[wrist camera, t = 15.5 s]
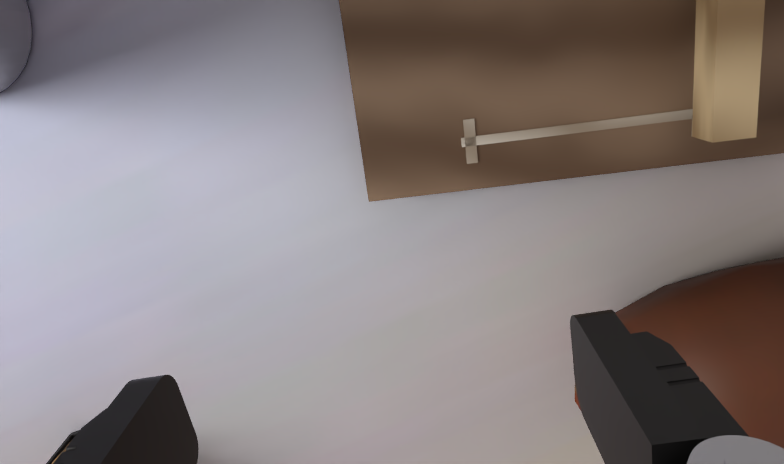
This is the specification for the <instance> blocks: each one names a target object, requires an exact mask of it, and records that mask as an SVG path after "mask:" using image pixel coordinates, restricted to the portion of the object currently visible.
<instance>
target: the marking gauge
mask: <svg viewBox="0 0 784 464" xmlns="http://www.w3.org/2000/svg"><path fill="white" fill-rule="evenodd" d="M764 11H765V0H696V23H695V55H694V88H693V115H692V137H695V138H698V139H701V140H705V141H708V142H712V143H713V142H722V141H730V140H738V139H747V138H755V137H756V133H757V118H758V103H759V87H760V72H761V57H762V41H763V26H764Z"/></svg>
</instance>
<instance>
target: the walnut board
mask: <svg viewBox="0 0 784 464" xmlns="http://www.w3.org/2000/svg"><path fill="white" fill-rule="evenodd" d="M339 5H340V11H341V18H342V25H343V31H344V38H345V45H346V51H347V58H348V65H349V72H350V78H351V85H352V92H353V98H354V105H355V112H356V118H357V125H358V132H359V138H360V145H361V152H362V159H363V165H364V172H365V179H366V185H367V192H368V199H369V202H370V201H378V200H387V199H395V198H404V197H412V196H421V195H429V194H438V193H446V192H455V191H463V190H472V189H480V188H489V187H497V186H506V185H515V184H523V183H532V182H540V181H549V180H557V179H566V178H574V177H583V176H591V175H600V174H608V173H617V172H625V171H634V170H642V169H651V168H660V167H668V166H677V165H685V164H694V163H702V162H711V161H719V160H728V159H736V158H745V157H753V156H762V155H770V154H779V153H784V0H765V11H764V26H763V41H762V57H761V72H760V87H759V103H758V118H757V133H756V137H755V138H747V139H738V140H730V141H722V142H713V143H712V142H708V141H705V140H701V139H698V138H695V137H692V115H693V88H694V55H695V23H696V0H339Z"/></svg>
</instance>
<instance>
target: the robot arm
mask: <svg viewBox="0 0 784 464" xmlns="http://www.w3.org/2000/svg"><path fill="white" fill-rule="evenodd" d="M31 38H32V27H31V19H30V12H29V9H28V6H27V3H26V0H0V92H1V91H3V90H5V89H7V88H8V87H9V86H10V85H11V84H12V83H13V82H14V81H15V80H16V79H17V78H18V77H19V75H20V73H21V72H22V70H23V68H24V67H25V65H26V62H27V59H28V56H29V52H30V49H31ZM570 327H571V340H572V351H573V363H574V375H575V385H576V392H577V397H578V401H579V405H580V408H581V411H582V414H583V417H584V419H585V421H586V424H587V426H588V428H589V430H590V432H591V434H592V436H593V439H594V441H595V443H596V445H597V447H598V449H599V452H600V454H601V456H602V458H603V460H604V462H605V464H784V449H783V448H781V447H779V446H777V445H775V444H772V443H770V442H767V441H764V440H761V439H757V438H752V437H749V436H748V434H747V433H746V432H745V431H744V430H743V429H742V427H741V426H740V425H739V424H738V423H737V422H736V420H735V419H734V418H733V417H732V416H731V414H730V413H729V412H728V411H727V410H726V409H725V407H724V406H723V405H722V404H721V403H720V402H719V400H718V399H717V398H716V397H715V396H714V394H713V393H712V392H711V391H710V390H709V389H708V387H707V386H706V385H705V384H704V383H703V382H700V380H699V377H698V376H697V374H696V373H695V372H694V371H693V370H692V369H691V367H690V366H687V364H686V361H685V360H684V359H683V358H682V357H681V356H680V354H679V353H678V352H677V351H676V350H675V349H674V347H673V346H672V345H671V344H669V343H667V342H665V341H664V340H662V339H660V338H658V337H656V336H654V335H653V334H651V333H649V332H647V331H646V332H639V333H632V334H630V332H629V331H628V330H627V328H626V327H625V326H624V324H623V323H622V322H621V320H620V319H619V318H618V316H617V315H616V314H615V312H614V311H613V310H605V311H599V312H592V313H585V314H579V315H572V316H571V321H570ZM197 459H198V440H197V436H196V433H195V430H194V428H193V425H192V422H191V419H190V417H189V414H188V411H187V409H186V406H185V403H184V401H183V398H182V395H181V393H180V390H179V387H178V385H177V382H176V381H175V379H174V378H173V377H172V376H170V375H162V376H156V377H149V378H142V379H135V380H131V381H129V382H128V383H127V384H126V385H125V387H124V388H123V389H122V390H121V392H120V393H119V394H118V395H117V397H116V398H115V399H114V401H113V402H112V403H111V404H110V406H109V407H108V408H107V409H105V410H104V411H103V412H101V413H100V414H99V415H98V416H96V417H95V418H94V419H92V420H91V421H90V422H89V423H87V424H86V425H85V426H84V427H82V428H81V430H80V431H79V432H78V433H77V435H76V436H75V437H74V438H73V440H72V441H71V442H70V443H69V444H68V446H67V447H66V451H65V452H62V453H61V454H60V455H59V457H58V458H57V459H56V460H55V462H54V463H53V464H197Z"/></svg>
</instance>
